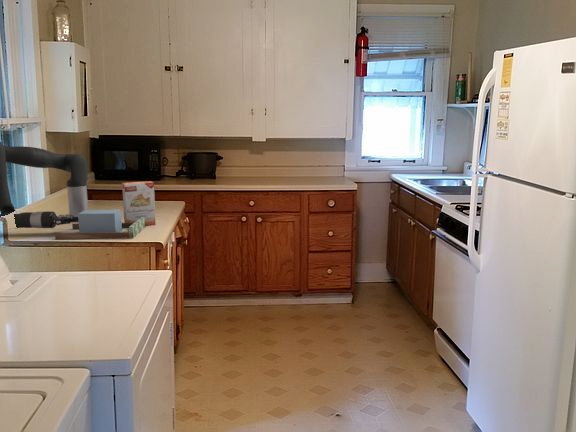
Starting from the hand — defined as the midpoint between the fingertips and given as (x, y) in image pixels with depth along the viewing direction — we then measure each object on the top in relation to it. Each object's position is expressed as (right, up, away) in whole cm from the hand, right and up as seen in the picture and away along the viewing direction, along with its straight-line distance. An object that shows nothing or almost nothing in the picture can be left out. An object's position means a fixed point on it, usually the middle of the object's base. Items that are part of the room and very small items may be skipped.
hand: (82, 219), depth 250 cm
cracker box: (+21, -3, +19) cm, 28 cm away
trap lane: (+9, -6, +2) cm, 11 cm away
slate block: (+8, -6, +2) cm, 10 cm away
